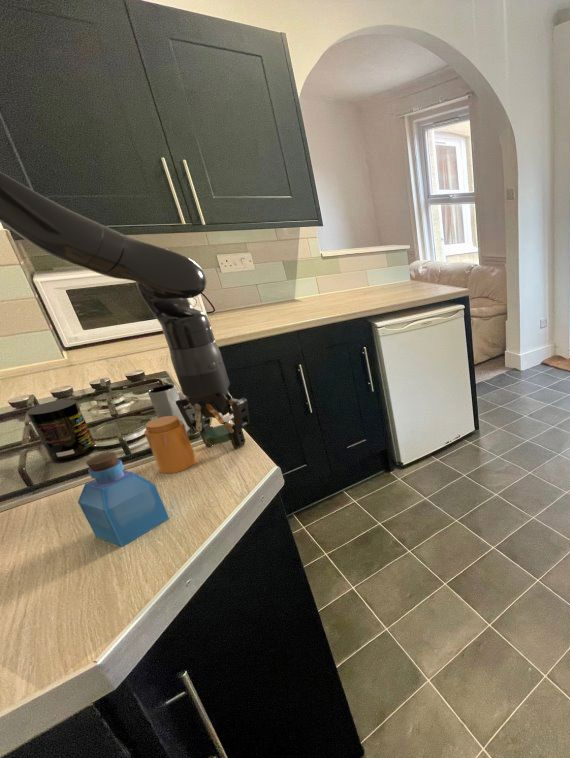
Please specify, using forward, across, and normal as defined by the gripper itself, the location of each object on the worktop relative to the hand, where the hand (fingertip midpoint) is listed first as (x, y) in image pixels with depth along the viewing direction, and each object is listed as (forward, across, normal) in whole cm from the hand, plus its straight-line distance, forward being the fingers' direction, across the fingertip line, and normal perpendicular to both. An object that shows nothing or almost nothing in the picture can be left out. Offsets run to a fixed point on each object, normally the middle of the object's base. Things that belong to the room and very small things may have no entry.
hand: (225, 445), depth 85 cm
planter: (0, +16, -4) cm, 16 cm away
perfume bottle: (0, -5, +23) cm, 24 cm away
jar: (0, +3, +8) cm, 8 cm away
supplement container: (0, +28, +6) cm, 29 cm away
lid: (-3, 0, 0) cm, 3 cm away
